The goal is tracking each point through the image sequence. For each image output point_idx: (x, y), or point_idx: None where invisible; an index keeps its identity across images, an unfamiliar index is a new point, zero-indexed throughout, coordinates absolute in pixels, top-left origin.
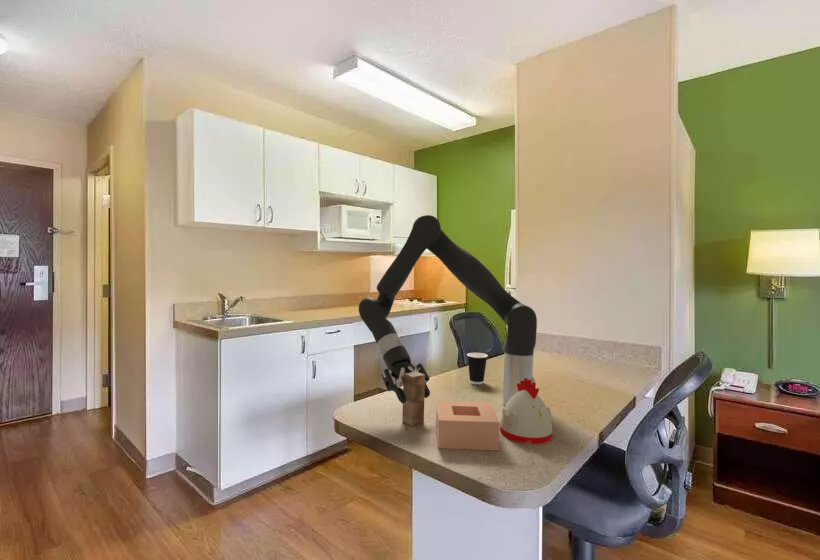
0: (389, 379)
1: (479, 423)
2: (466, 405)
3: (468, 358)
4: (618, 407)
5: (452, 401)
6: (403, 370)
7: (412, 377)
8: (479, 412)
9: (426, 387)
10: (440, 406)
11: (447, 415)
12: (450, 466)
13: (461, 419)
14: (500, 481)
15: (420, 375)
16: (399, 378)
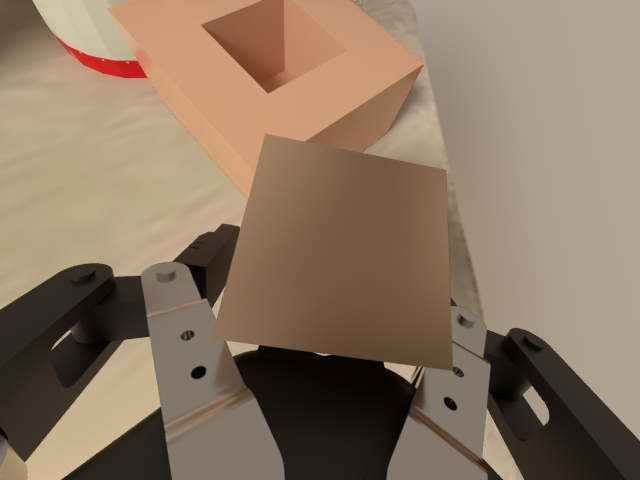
0: (601, 409)
1: None
2: (217, 56)
3: None
4: None
5: (210, 115)
6: (422, 458)
7: (442, 181)
8: (254, 4)
9: (207, 244)
10: (310, 121)
11: (368, 62)
12: (424, 80)
13: (360, 20)
14: (394, 9)
15: (334, 149)
16: (482, 359)
